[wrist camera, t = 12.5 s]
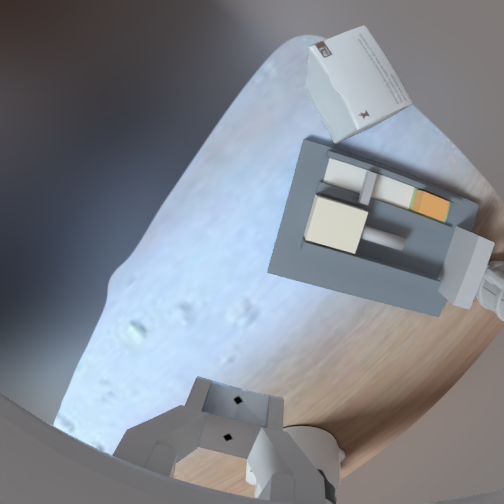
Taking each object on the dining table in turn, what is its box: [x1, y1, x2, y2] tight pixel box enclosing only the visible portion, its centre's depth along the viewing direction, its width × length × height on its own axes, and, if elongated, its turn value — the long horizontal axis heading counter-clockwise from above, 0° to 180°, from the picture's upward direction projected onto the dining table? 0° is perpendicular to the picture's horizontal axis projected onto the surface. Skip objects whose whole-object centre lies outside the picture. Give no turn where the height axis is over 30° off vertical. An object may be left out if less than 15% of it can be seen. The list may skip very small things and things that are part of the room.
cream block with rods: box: [304, 171, 405, 254], centre depth 35 cm, size 10×12×3 cm
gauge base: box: [267, 140, 495, 317], centre depth 35 cm, size 17×26×7 cm, turn 76°
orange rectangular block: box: [411, 190, 450, 222], centre depth 35 cm, size 3×4×2 cm, turn 76°
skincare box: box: [304, 26, 413, 144], centre depth 28 cm, size 8×6×15 cm
